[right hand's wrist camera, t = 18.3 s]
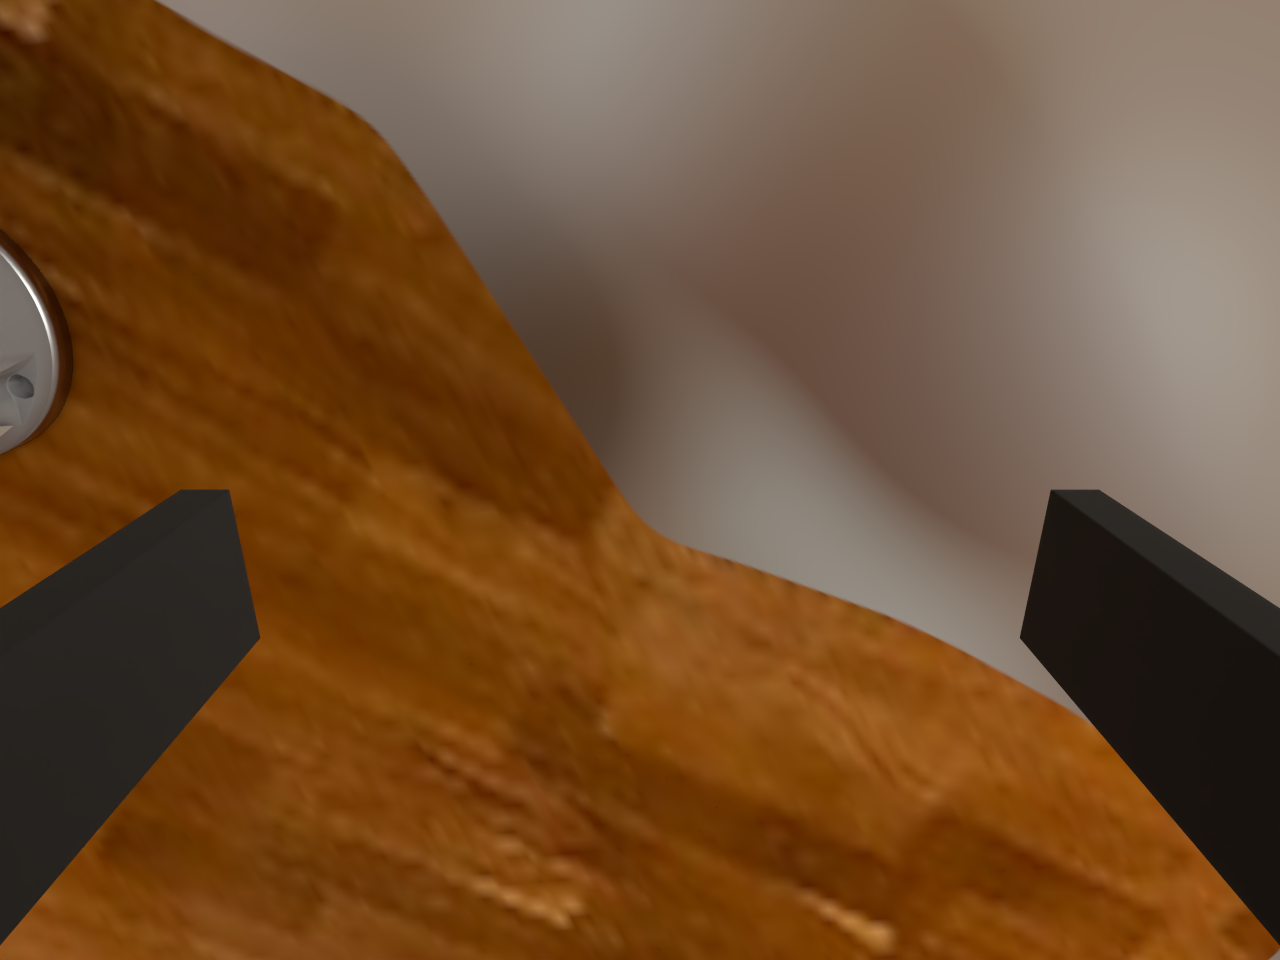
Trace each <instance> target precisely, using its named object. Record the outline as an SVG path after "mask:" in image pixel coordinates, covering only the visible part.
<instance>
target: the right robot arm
mask: <svg viewBox="0 0 1280 960" xmlns="http://www.w3.org/2000/svg"><path fill="white" fill-rule="evenodd" d="M72 372H73V355H72V345H71V339H70V334H69V330H68V327H67V323H66V320H65V317H64V314H63V312H62V309H61V307H60V305H59V303H58V300H57V298H56V296H55V294H54V293H53V291H52V289H51V287H50V286H49V284H48V282H47V281H46V279H45V278H44V276H43V275H42V273H41V272H40V270H39V269H38V268H37V266H36V265H35V264H34V263H33V261H32V260H31V259H30V258H29V257H28V255H27V254H26V253H25V252H24V251H23V250H22V249H21V248H20V247H19V246H18V245H17V244H16V243H15V242H14V241H13V240H12V239H11V238H10V237H9V236H8V235H6V234H5V233H4V232H3V231H1V230H0V454H2V453H4V452H6V451H9V450H11V449H14V448H16V447H18V446H21V445H23V444H25V443H27V442H29V441H31V440H32V439H34V438H36V437H37V436H38V435H40V434H41V433H42V432H43V431H45V430H46V429H47V428H48V427H49V426H50V424H51V423H52V422H53V421H54V420H55V418H56V417H57V416H58V414H59V413H60V411H61V409H62V407H63V405H64V403H65V401H66V398H67V396H68V392H69V389H70V385H71V379H72ZM259 639H260V635H259V630H258V625H257V620H256V616H255V611H254V606H253V601H252V596H251V592H250V587H249V582H248V577H247V573H246V568H245V563H244V558H243V554H242V549H241V544H240V539H239V535H238V530H237V525H236V520H235V516H234V511H233V506H232V501H231V497H230V492H229V490H180V491H178V492H177V493H175V494H174V495H172V496H171V497H169V498H168V499H166V500H165V501H163V502H162V503H160V504H159V505H157V506H156V507H154V508H153V509H151V510H149V511H148V512H146V513H145V514H143V515H142V516H140V517H139V518H137V519H136V520H134V521H133V522H131V523H130V524H128V525H127V526H125V527H124V528H122V529H120V530H119V531H117V532H116V533H114V534H113V535H111V536H110V537H108V538H107V539H105V540H104V541H102V542H101V543H99V544H98V545H96V546H95V547H93V548H91V549H90V550H88V551H87V552H85V553H84V554H82V555H81V556H79V557H78V558H76V559H75V560H73V561H72V562H70V563H69V564H67V565H66V566H64V567H62V568H61V569H59V570H58V571H56V572H55V573H53V574H52V575H50V576H49V577H47V578H46V579H44V580H43V581H41V582H40V583H38V584H37V585H35V586H34V587H32V588H30V589H29V590H27V591H26V592H24V593H23V594H21V595H20V596H18V597H17V598H15V599H14V600H12V601H11V602H9V603H8V604H6V605H5V606H3V607H1V608H0V945H1V944H2V943H3V941H4V940H5V939H6V938H7V937H8V935H9V934H10V933H11V932H12V931H13V930H14V928H15V927H16V926H17V925H18V924H19V922H20V921H21V920H22V919H23V918H24V917H25V915H26V914H27V913H28V912H29V911H30V909H31V908H32V907H33V906H34V905H35V904H36V902H37V901H38V900H39V899H40V898H41V896H42V895H43V894H44V893H45V892H46V891H47V889H48V888H49V887H50V886H51V885H52V883H53V882H54V881H55V880H56V879H57V878H58V876H59V875H60V874H61V873H62V872H63V870H64V869H65V868H66V867H67V866H68V865H69V863H70V862H71V861H72V860H73V859H74V857H75V856H76V855H77V854H78V853H79V852H80V850H81V849H82V848H83V847H84V846H85V844H86V843H87V842H88V841H89V840H90V839H91V837H92V836H93V835H94V834H95V833H96V831H97V830H98V829H99V828H100V827H101V826H102V824H103V823H104V822H105V821H106V820H107V818H108V817H109V816H110V815H111V814H112V813H113V811H114V810H115V809H116V808H117V807H118V805H119V804H120V803H121V802H122V801H123V800H124V798H125V797H126V796H127V795H128V794H129V792H130V791H131V790H132V789H133V788H134V787H135V785H136V784H137V783H138V782H139V781H140V779H141V778H142V777H143V776H144V775H145V774H146V772H147V771H148V770H149V769H150V768H151V766H152V765H153V764H154V763H155V762H156V761H157V759H158V758H159V757H160V756H161V755H162V753H163V752H164V751H165V750H166V749H167V748H168V746H169V745H170V744H171V743H172V742H173V740H174V739H175V738H176V737H177V736H178V735H179V733H180V732H181V731H182V730H183V729H184V727H185V726H186V725H187V724H188V723H189V722H190V720H191V719H192V718H193V717H194V716H195V714H196V713H197V712H198V711H199V710H200V709H201V707H202V706H203V705H204V704H205V703H206V701H207V700H208V699H209V698H210V697H211V695H212V694H213V693H214V692H215V691H216V690H217V688H218V687H219V686H220V685H221V684H222V682H223V681H224V680H225V679H226V678H227V677H228V675H229V674H230V673H231V672H232V671H233V669H234V668H235V667H236V666H237V665H238V664H239V662H240V661H241V660H242V659H243V658H244V656H245V655H246V654H247V653H248V652H249V651H250V649H251V648H252V647H253V646H254V645H255V643H256V642H257V641H258V640H259ZM1020 639H1021V640H1022V641H1023V642H1024V643H1025V645H1026V646H1027V647H1028V648H1029V649H1030V651H1031V652H1032V653H1033V654H1034V655H1035V656H1036V658H1037V659H1038V660H1039V661H1040V662H1041V664H1042V665H1043V666H1044V667H1045V668H1046V669H1047V671H1048V672H1049V673H1050V674H1051V675H1052V677H1053V678H1054V679H1055V680H1056V681H1057V682H1058V684H1059V685H1060V686H1061V687H1062V688H1063V690H1064V691H1065V692H1066V693H1067V694H1068V695H1069V697H1070V698H1071V699H1072V700H1073V701H1074V703H1075V704H1076V705H1077V706H1078V707H1079V709H1080V710H1081V711H1082V712H1083V713H1084V714H1085V716H1086V717H1087V718H1088V719H1089V720H1090V722H1091V723H1092V724H1093V725H1094V726H1095V727H1096V729H1097V730H1098V731H1099V732H1100V733H1101V735H1102V736H1103V737H1104V738H1105V739H1106V740H1107V742H1108V743H1109V744H1110V745H1111V746H1112V748H1113V749H1114V750H1115V751H1116V752H1117V753H1118V755H1119V756H1120V757H1121V758H1122V759H1123V761H1124V762H1125V763H1126V764H1127V765H1128V766H1129V768H1130V769H1131V770H1132V771H1133V772H1134V774H1135V775H1136V776H1137V777H1138V778H1139V779H1140V781H1141V782H1142V783H1143V784H1144V785H1145V787H1146V788H1147V789H1148V790H1149V791H1150V792H1151V794H1152V795H1153V796H1154V797H1155V798H1156V800H1157V801H1158V802H1159V803H1160V804H1161V805H1162V807H1163V808H1164V809H1165V810H1166V811H1167V813H1168V814H1169V815H1170V816H1171V817H1172V818H1173V820H1174V821H1175V822H1176V823H1177V824H1178V826H1179V827H1180V828H1181V829H1182V830H1183V831H1184V833H1185V834H1186V835H1187V836H1188V837H1189V839H1190V840H1191V841H1192V842H1193V843H1194V844H1195V846H1196V847H1197V848H1198V849H1199V850H1200V852H1201V853H1202V854H1203V855H1204V856H1205V857H1206V859H1207V860H1208V861H1209V862H1210V863H1211V865H1212V866H1213V867H1214V868H1215V869H1216V870H1217V872H1218V873H1219V874H1220V875H1221V876H1222V878H1223V879H1224V880H1225V881H1226V882H1227V883H1228V885H1229V886H1230V887H1231V888H1232V889H1233V891H1234V892H1235V893H1236V894H1237V895H1238V896H1239V898H1240V899H1241V900H1242V901H1243V902H1244V904H1245V905H1246V906H1247V907H1248V908H1249V909H1250V911H1251V912H1252V913H1253V914H1254V915H1255V917H1256V918H1257V919H1258V920H1259V921H1260V922H1261V924H1262V925H1263V926H1264V927H1265V928H1266V930H1267V931H1268V932H1269V933H1270V934H1271V935H1272V937H1273V938H1274V939H1275V940H1276V941H1277V943H1278V944H1279V945H1280V608H1279V607H1277V606H1275V605H1274V604H1272V603H1271V602H1269V601H1268V600H1266V599H1265V598H1263V597H1262V596H1260V595H1259V594H1257V593H1256V592H1254V591H1253V590H1251V589H1250V588H1248V587H1246V586H1245V585H1243V584H1242V583H1240V582H1239V581H1237V580H1236V579H1234V578H1233V577H1231V576H1230V575H1228V574H1227V573H1225V572H1224V571H1222V570H1221V569H1219V568H1217V567H1216V566H1214V565H1213V564H1211V563H1210V562H1208V561H1207V560H1205V559H1204V558H1202V557H1201V556H1199V555H1198V554H1196V553H1195V552H1193V551H1192V550H1190V549H1189V548H1187V547H1185V546H1184V545H1182V544H1181V543H1179V542H1178V541H1176V540H1175V539H1173V538H1172V537H1170V536H1169V535H1167V534H1166V533H1164V532H1163V531H1161V530H1160V529H1158V528H1156V527H1155V526H1153V525H1152V524H1150V523H1149V522H1147V521H1146V520H1144V519H1143V518H1141V517H1140V516H1138V515H1137V514H1135V513H1134V512H1132V511H1131V510H1129V509H1127V508H1126V507H1124V506H1123V505H1121V504H1120V503H1118V502H1117V501H1115V500H1114V499H1112V498H1111V497H1109V496H1108V495H1106V494H1105V493H1103V492H1102V491H1100V490H1051V492H1050V497H1049V501H1048V506H1047V511H1046V516H1045V520H1044V525H1043V530H1042V535H1041V539H1040V544H1039V549H1038V554H1037V558H1036V563H1035V568H1034V573H1033V577H1032V582H1031V587H1030V592H1029V597H1028V601H1027V606H1026V611H1025V616H1024V620H1023V625H1022V630H1021V635H1020Z"/></svg>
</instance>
